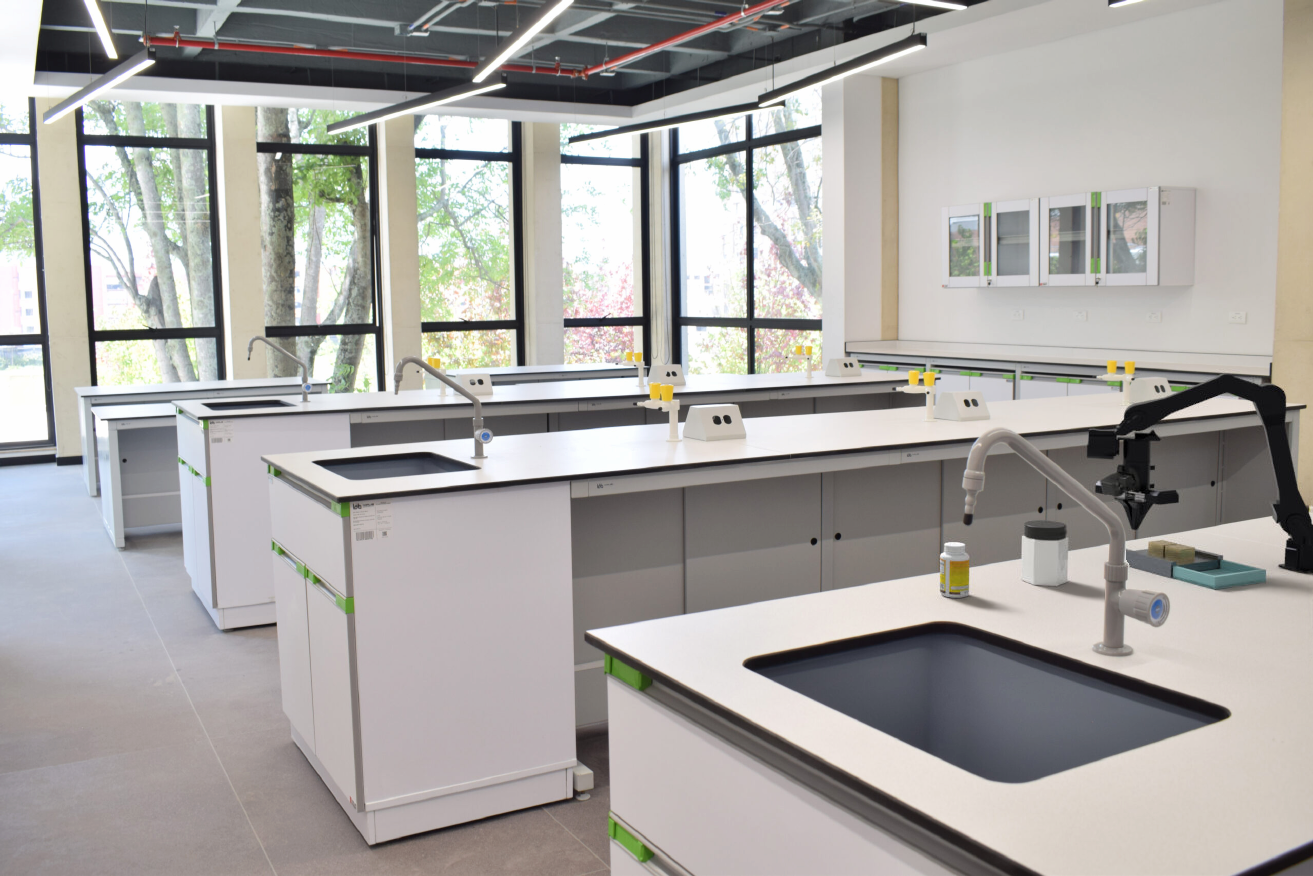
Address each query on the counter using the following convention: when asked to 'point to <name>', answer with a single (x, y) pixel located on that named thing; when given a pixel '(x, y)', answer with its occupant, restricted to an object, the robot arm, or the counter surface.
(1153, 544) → the tan square block
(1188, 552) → the chip
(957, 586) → the supplement bottle
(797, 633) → the counter surface
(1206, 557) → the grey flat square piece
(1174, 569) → the tray
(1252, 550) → the counter surface
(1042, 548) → the jar
